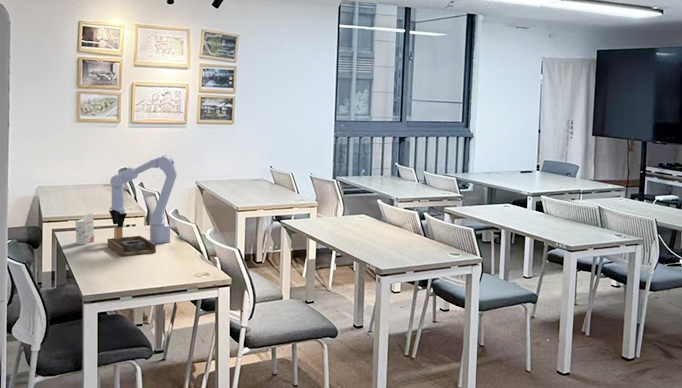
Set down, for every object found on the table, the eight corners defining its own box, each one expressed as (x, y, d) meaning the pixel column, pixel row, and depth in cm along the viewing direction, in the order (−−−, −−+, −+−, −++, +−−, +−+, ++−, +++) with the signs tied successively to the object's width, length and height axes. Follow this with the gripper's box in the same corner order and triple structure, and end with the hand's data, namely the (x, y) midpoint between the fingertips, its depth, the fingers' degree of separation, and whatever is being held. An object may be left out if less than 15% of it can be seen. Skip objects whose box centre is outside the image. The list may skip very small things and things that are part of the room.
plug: (120, 240, 349) (120, 225, 348) (123, 242, 346) (122, 226, 345) (113, 241, 347) (113, 225, 346) (115, 242, 344) (115, 227, 343)
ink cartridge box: (85, 240, 347) (84, 212, 344) (94, 241, 346) (93, 212, 343) (75, 244, 338) (74, 214, 336) (84, 245, 337) (84, 215, 335)
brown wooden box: (140, 243, 344) (139, 235, 343) (155, 252, 326) (155, 244, 326) (107, 246, 335) (107, 238, 334) (122, 256, 317) (121, 248, 316)
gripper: (105, 197, 347) (105, 223, 349) (114, 201, 335) (114, 228, 337) (119, 196, 351) (119, 222, 353) (128, 200, 339) (128, 227, 341)
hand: (118, 225), depth 345 cm, fingers open, 7 cm apart
